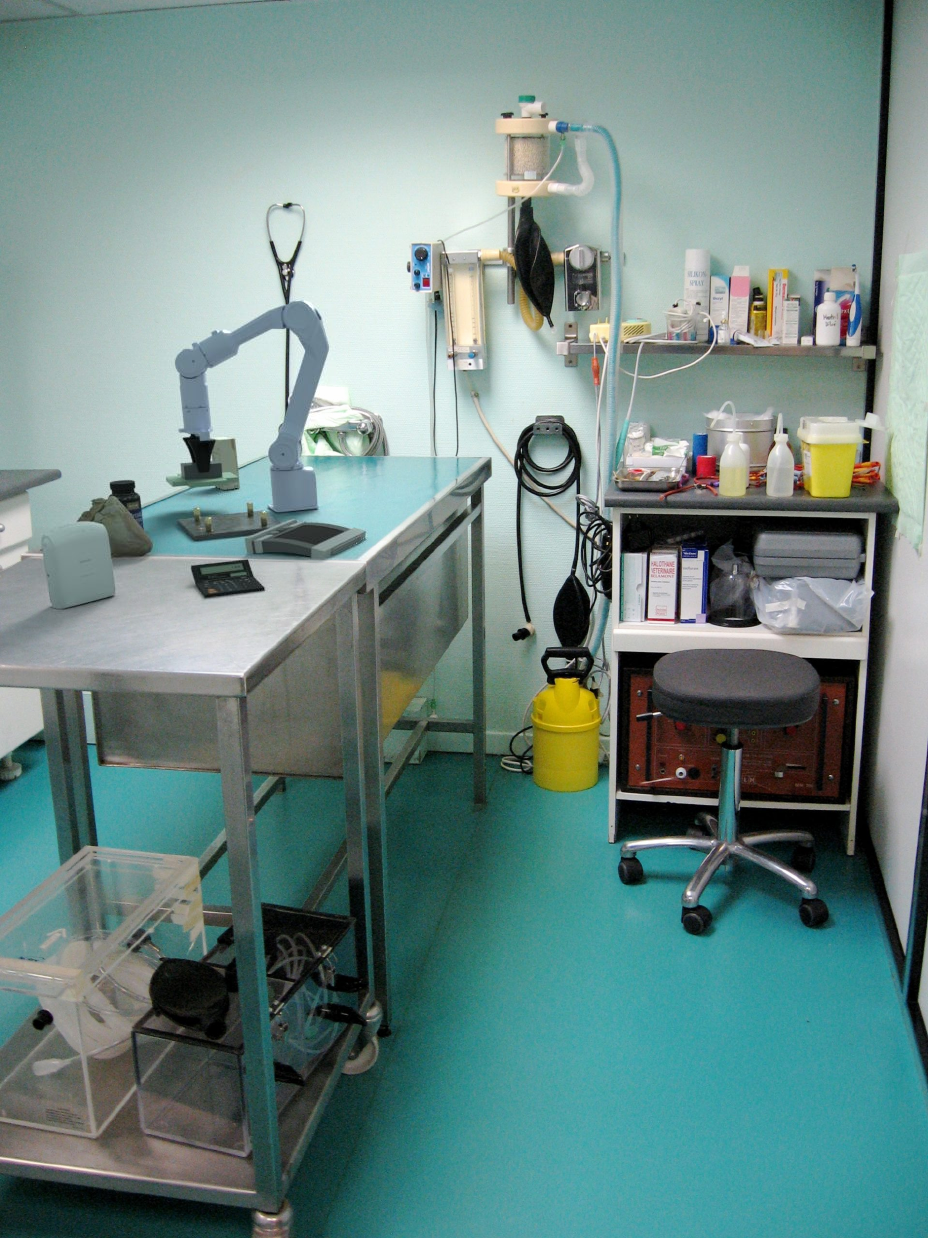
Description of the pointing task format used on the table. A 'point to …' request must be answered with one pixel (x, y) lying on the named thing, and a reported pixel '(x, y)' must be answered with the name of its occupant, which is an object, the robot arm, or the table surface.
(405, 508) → the table surface
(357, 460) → the table surface
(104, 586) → the photo printer
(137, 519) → the pill bottle
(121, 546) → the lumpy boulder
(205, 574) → the calculator
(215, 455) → the skincare box
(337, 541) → the grey curved panel device
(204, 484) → the circuit board
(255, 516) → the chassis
